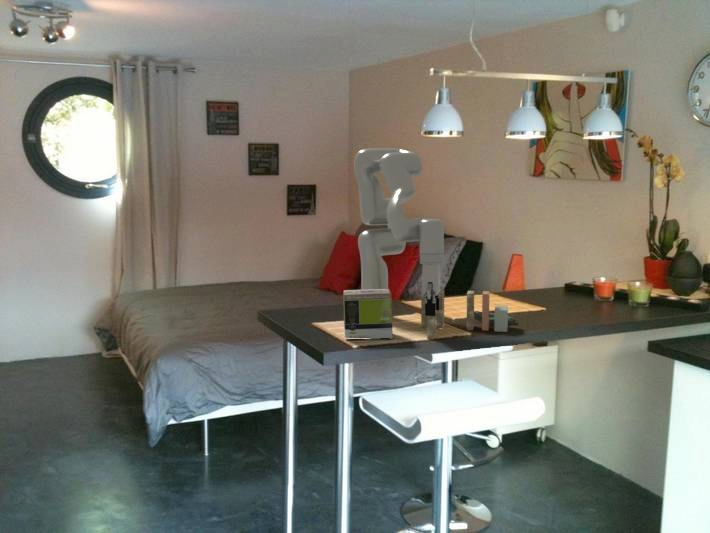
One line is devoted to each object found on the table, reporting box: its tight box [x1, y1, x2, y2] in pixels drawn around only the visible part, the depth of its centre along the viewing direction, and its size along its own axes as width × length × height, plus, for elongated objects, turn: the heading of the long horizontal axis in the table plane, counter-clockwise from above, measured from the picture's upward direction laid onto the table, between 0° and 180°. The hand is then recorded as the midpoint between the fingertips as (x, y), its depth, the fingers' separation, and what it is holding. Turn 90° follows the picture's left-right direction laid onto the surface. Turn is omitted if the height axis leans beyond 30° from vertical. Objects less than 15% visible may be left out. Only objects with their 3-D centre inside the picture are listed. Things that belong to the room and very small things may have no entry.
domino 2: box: [426, 298, 437, 340], centre depth 226 cm, size 2×6×12 cm, turn 167°
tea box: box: [342, 288, 394, 340], centre depth 227 cm, size 15×10×15 cm, turn 92°
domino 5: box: [481, 290, 490, 331], centre depth 237 cm, size 2×6×12 cm, turn 167°
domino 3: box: [436, 289, 445, 328], centre depth 240 cm, size 2×6×12 cm, turn 167°
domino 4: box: [466, 290, 475, 331], centre depth 238 cm, size 2×6×12 cm, turn 167°
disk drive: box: [474, 309, 516, 327], centre depth 249 cm, size 10×3×15 cm
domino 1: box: [420, 291, 427, 329], centre depth 241 cm, size 2×6×12 cm, turn 167°
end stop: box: [493, 305, 509, 333], centre depth 236 cm, size 4×8×7 cm, turn 167°
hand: (432, 312), depth 225 cm, fingers open, 9 cm apart
